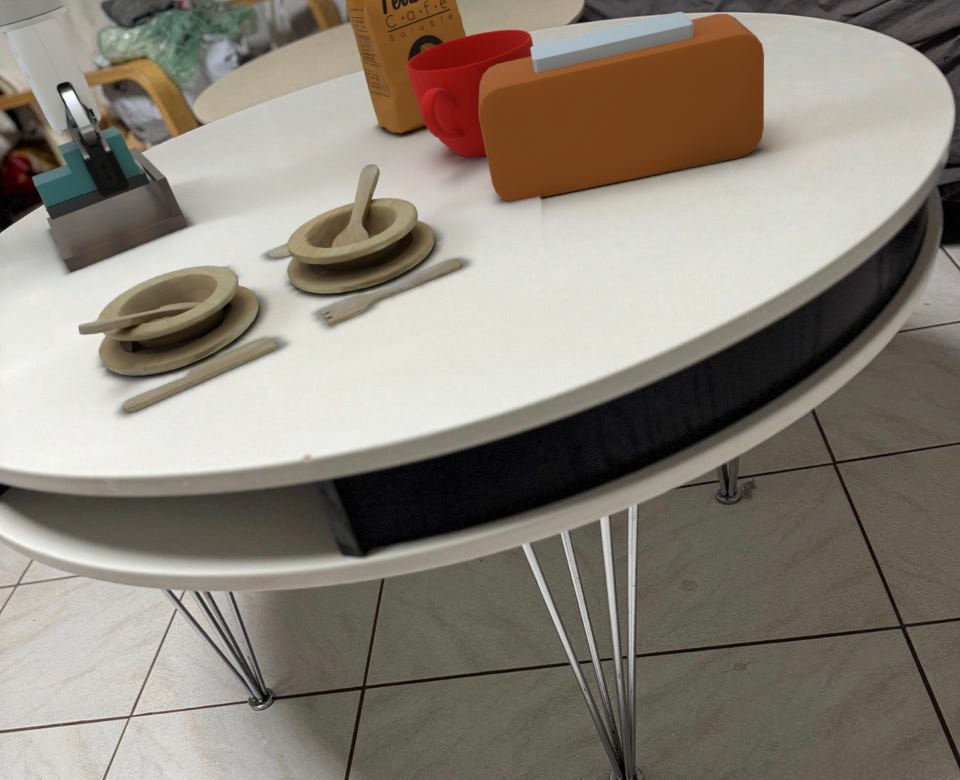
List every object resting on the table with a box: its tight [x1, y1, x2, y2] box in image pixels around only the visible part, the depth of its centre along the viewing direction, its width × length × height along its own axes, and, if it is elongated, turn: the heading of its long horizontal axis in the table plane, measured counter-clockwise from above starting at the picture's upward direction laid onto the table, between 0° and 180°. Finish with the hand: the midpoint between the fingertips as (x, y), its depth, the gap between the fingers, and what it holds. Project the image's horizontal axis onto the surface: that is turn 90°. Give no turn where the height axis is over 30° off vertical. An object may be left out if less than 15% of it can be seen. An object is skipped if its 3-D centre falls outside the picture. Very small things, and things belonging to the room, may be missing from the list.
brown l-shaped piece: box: [46, 147, 189, 273], centre depth 92 cm, size 13×18×6 cm
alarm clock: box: [479, 11, 765, 202], centre depth 73 cm, size 24×8×11 cm, turn 89°
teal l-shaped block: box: [31, 126, 150, 220], centre depth 89 cm, size 11×5×6 cm, turn 120°
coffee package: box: [345, 0, 467, 134], centre depth 95 cm, size 10×12×22 cm
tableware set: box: [77, 163, 463, 414], centre depth 68 cm, size 30×20×6 cm, turn 118°
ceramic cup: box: [407, 29, 534, 159], centre depth 84 cm, size 13×17×10 cm
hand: (110, 184), depth 91 cm, fingers closed on teal l-shaped block, 5 cm apart
